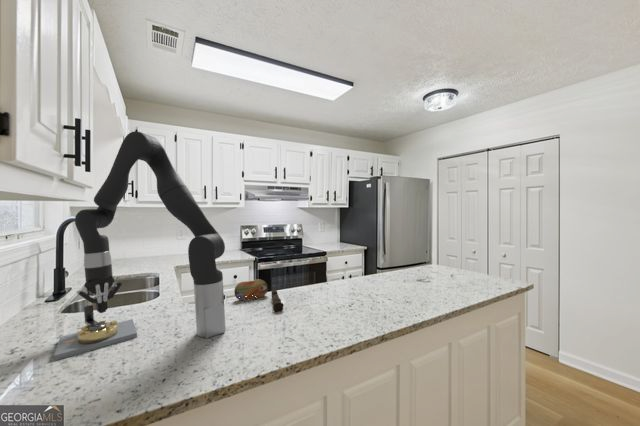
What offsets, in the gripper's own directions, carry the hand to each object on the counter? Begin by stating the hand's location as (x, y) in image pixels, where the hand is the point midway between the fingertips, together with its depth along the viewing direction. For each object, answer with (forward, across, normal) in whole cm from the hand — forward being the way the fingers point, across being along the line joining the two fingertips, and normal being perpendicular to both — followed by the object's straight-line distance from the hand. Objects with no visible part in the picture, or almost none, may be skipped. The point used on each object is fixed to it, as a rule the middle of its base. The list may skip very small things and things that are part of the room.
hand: (102, 312), depth 98 cm
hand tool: (+8, +48, -38) cm, 62 cm away
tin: (+8, +49, -23) cm, 55 cm away
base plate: (+7, -4, -7) cm, 10 cm away
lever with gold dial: (+5, -4, -6) cm, 9 cm away
